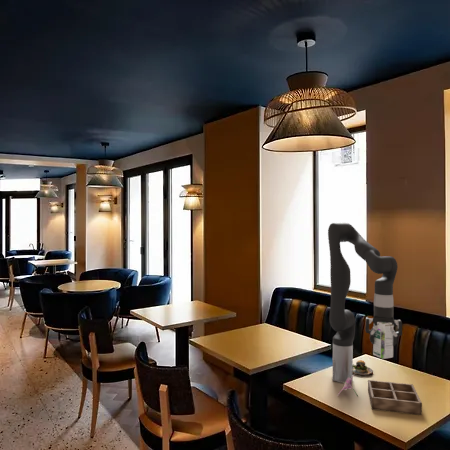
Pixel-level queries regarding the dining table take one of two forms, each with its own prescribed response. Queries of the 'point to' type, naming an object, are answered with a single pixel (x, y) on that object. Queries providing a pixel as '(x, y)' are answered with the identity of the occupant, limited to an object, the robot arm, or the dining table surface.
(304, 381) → the dining table surface
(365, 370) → the burger
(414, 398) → the caddy
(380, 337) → the syrup box
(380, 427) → the dining table surface
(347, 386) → the lily
